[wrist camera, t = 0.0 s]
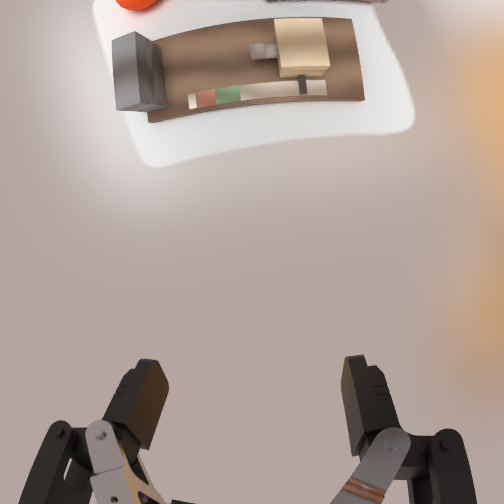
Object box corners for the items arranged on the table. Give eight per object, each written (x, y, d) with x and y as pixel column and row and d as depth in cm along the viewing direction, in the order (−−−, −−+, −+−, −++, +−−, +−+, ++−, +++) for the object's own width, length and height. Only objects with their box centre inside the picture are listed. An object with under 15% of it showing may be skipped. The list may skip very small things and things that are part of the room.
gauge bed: (146, 48, 29) (111, 30, 20) (347, 23, 25) (369, -5, 16) (154, 122, 33) (118, 123, 24) (360, 101, 30) (389, 93, 21)
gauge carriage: (249, 38, 26) (244, 21, 21) (314, 34, 25) (321, 18, 20) (257, 97, 30) (254, 91, 24) (322, 94, 29) (333, 87, 23)
